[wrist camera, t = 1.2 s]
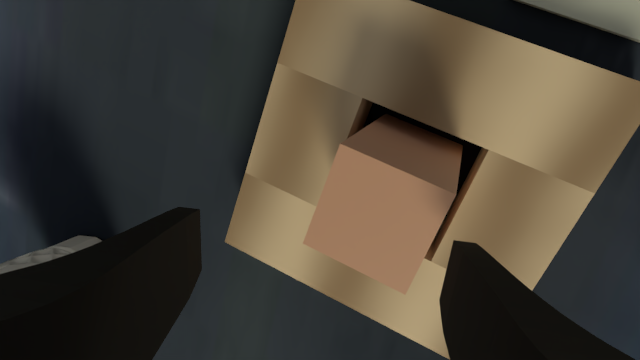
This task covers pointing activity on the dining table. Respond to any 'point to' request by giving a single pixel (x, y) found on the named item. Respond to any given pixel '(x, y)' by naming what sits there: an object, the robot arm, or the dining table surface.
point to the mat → (597, 14)
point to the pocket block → (444, 114)
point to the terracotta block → (386, 200)
